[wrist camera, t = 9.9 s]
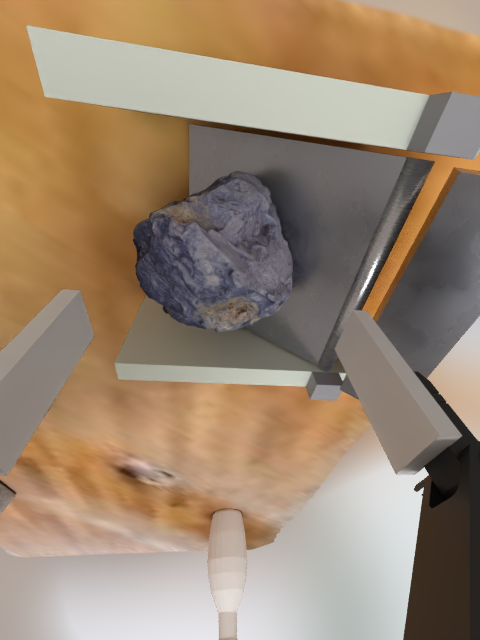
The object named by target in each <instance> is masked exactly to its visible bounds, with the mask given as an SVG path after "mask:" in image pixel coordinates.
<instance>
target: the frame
mask: <svg viewBox="0 0 480 640" xmlns="http://www.w3.org/2000/svg"><path fill="white" fill-rule="evenodd" d="M26 27H27V31H28V34H29V38H30V42H31V46H32V50H33V54H34V57H35V61H36V65H37V69H38V73H39V77H40V80H41V84H42V88H43V92H44V96H45V97H49V98H55V99H62V100H68V101H74V102H80V103H87V104H93V105H99V106H106V107H112V108H118V109H124V110H131V111H137V112H144V113H151V114H158V115H165V116H172V117H179V118H185V119H192V120H199V121H206V122H213V123H220V124H226V125H233V126H240V127H247V128H254V129H261V130H267V131H274V132H281V133H288V134H295V135H302V136H308V137H315V138H322V139H329V140H336V141H343V142H350V143H356V144H363V145H370V146H378V147H385V148H392V149H399V150H407V151H414V152H421V153H428V154H436V155H443V156H450V157H458V158H465V159H472V160H475V159H476V157H477V155H478V153H479V152H480V97H478V96H473V95H467V94H461V93H456V92H449V93H442V94H435V95H425V94H419V93H414V92H408V91H402V90H396V89H391V88H385V87H379V86H373V85H367V84H362V83H356V82H350V81H344V80H339V79H333V78H327V77H321V76H316V75H310V74H304V73H298V72H293V71H287V70H281V69H275V68H269V67H264V66H258V65H252V64H246V63H241V62H235V61H229V60H223V59H218V58H212V57H206V56H200V55H194V54H189V53H183V52H177V51H171V50H166V49H160V48H154V47H148V46H143V45H137V44H131V43H125V42H120V41H114V40H108V39H102V38H96V37H91V36H85V35H79V34H73V33H68V32H62V31H56V30H50V29H45V28H39V27H33V26H27V25H26ZM114 364H115V368H116V372H117V376H118V379H119V380H144V381H172V382H199V383H226V384H253V385H280V386H306V388H307V391H308V395H309V398H310V400H337V399H338V397H339V395H340V393H341V392H342V391H341V390H340V387H341V385H342V382H343V380H344V378H345V375H346V371H345V369H344V367H343V365H342V363H341V361H340V359H339V357H338V359H337V361H336V364H335V366H334V368H333V370H332V371H330V372H326V371H323V370H321V369H320V368H319V367H318V366H317V365H316V364H314V363H312V362H310V361H308V360H306V359H304V358H302V357H300V356H298V355H296V354H295V353H293V352H291V351H289V350H287V349H285V348H283V347H281V346H279V345H277V344H275V343H273V342H271V341H269V340H267V339H265V338H263V337H261V336H259V335H257V334H255V333H253V332H251V331H249V330H247V329H245V328H243V327H241V328H238V329H236V330H234V331H225V332H220V333H218V332H216V331H215V329H202V328H198V327H195V326H186V325H185V324H183V323H179V322H178V321H176V320H175V319H173V318H171V316H170V315H169V314H166V313H165V312H164V311H163V305H161V304H159V303H157V302H156V301H155V300H153V299H150V298H148V296H147V295H146V296H145V298H144V300H143V302H142V305H141V307H140V309H139V311H138V313H137V315H136V317H135V320H134V322H133V324H132V326H131V328H130V330H129V332H128V335H127V337H126V339H125V341H124V343H123V345H122V347H121V350H120V352H119V354H118V356H117V358H116V360H115V362H114Z"/></svg>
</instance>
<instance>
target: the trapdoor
mask: <svg viewBox="0 0 480 640" xmlns="http://www.w3.org/2000/svg"><path fill="white" fill-rule="evenodd" d="M434 163H435V162H434V161H429V160H422V159H416V158H409V157H402V156H396V155H389V154H383V153H376V152H370V151H363V150H356V149H350V148H343V147H337V146H330V145H324V144H317V143H311V142H304V141H298V140H291V139H285V138H278V137H272V136H265V135H258V134H252V133H245V132H239V131H232V130H226V129H219V128H213V127H206V126H200V125H193V124H189V196H190V195H191V194H194V193H197V192H200V191H202V190H205V189H206V188H207V187H209V186H210V185H211V184H212V183H213V182H214V181H215V180H217V179H218V178H220V177H222V176H228V175H229V174H230V173H232V172H235V171H240V172H247V173H249V174H251V175H253V176H254V177H256V178H257V179H258V180H260V182H261V183H262V185H263V186H265V187H267V188H268V190H269V191H270V198H271V201H272V203H273V204H274V205H275V206H276V213H277V215H278V218H279V220H280V226H281V233H282V235H283V238H284V240H285V241H287V242H288V247H289V249H290V252H291V255H292V262H293V271H292V289H291V293H290V295H289V297H288V298H287V300H286V301H285V303H284V304H283V305H282V307H281V308H280V309H279V311H278V312H277V313H275V314H273V315H272V316H267V317H262V318H261V319H260V320H258V321H256V322H254V323H253V324H252V326H245V327H243V328H245V329H247V330H249V331H251V332H253V333H255V334H257V335H259V336H261V337H263V338H265V339H267V340H269V341H271V342H273V343H275V344H277V345H279V346H281V347H283V348H285V349H287V350H289V351H291V352H293V353H295V354H296V355H298V356H300V357H302V358H304V359H306V360H308V361H310V362H312V363H314V364H316V365H317V366H318V367H319V368H320V369H321V370H323V371H326V372H330V371H332V370H333V368H334V366H335V364H336V361H337V359H338V355H337V353H336V351H335V347H336V345H337V343H338V340H339V338H340V336H341V334H342V332H343V330H344V328H345V325H346V323H347V321H348V319H349V317H350V315H351V312H352V310H361V311H362V309H363V307H364V305H365V303H366V301H367V299H368V297H369V295H370V292H371V290H372V288H373V286H374V284H375V282H376V280H377V278H378V276H379V274H380V272H381V270H382V268H383V266H384V264H385V262H386V260H387V258H388V256H389V254H390V252H391V250H392V248H393V246H394V244H395V242H396V240H397V238H398V236H399V234H400V232H401V230H402V228H403V225H404V223H405V221H406V219H407V217H408V215H409V213H410V211H411V209H412V207H413V205H414V203H415V201H416V199H417V197H418V195H419V193H420V191H421V189H422V187H423V185H424V183H425V181H426V179H427V177H428V175H429V173H430V171H431V169H432V167H433V165H434ZM479 316H480V171H474V170H468V169H462V168H455V167H454V168H453V170H452V172H451V174H450V176H449V178H448V179H447V181H446V183H445V185H444V187H443V189H442V191H441V192H440V194H439V196H438V198H437V200H436V202H435V204H434V205H433V207H432V209H431V211H430V213H429V215H428V217H427V218H426V220H425V222H424V224H423V226H422V228H421V230H420V231H419V233H418V235H417V237H416V239H415V241H414V243H413V245H412V246H411V248H410V250H409V252H408V254H407V256H406V258H405V259H404V261H403V263H402V265H401V267H400V269H399V271H398V272H397V274H396V276H395V278H394V280H393V282H392V284H391V285H390V287H389V289H388V291H387V293H386V295H385V297H384V298H383V300H382V302H381V304H380V306H379V308H378V310H377V312H376V313H375V315H374V317H373V320H374V321H375V322H376V324H377V325H378V326H379V327H380V329H381V330H382V331H383V333H384V334H385V335H386V337H387V338H388V339H389V341H390V342H391V343H392V344H393V346H394V347H395V348H396V350H397V351H398V352H399V354H400V355H401V356H402V358H403V359H404V360H405V361H406V363H407V364H408V365H409V367H410V368H411V369H412V371H417V372H419V373H420V374H422V375H423V376H424V377H425V378H427V377H428V376H429V375H430V374H431V373H432V371H433V370H434V369H435V368H436V367H437V365H438V364H439V363H440V362H441V361H442V360H443V358H444V357H445V356H446V355H447V353H448V352H449V351H450V350H451V349H452V348H453V347H454V345H455V344H456V343H457V342H458V341H459V339H460V338H461V337H462V336H463V335H464V334H465V332H466V331H467V330H468V329H469V327H470V326H471V325H472V324H473V323H474V322H475V320H476V319H477V318H478V317H479ZM340 390H341V391H343V392H345V393H347V394H349V395H351V396H353V397H355V398H357V399H358V400H359V398H358V396H357V394H356V392H355V390H354V388H353V386H352V384H351V382H350V380H349V378H348V376H347V374H346V375H345V378H344V380H343V382H342V385H341V387H340Z"/></svg>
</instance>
